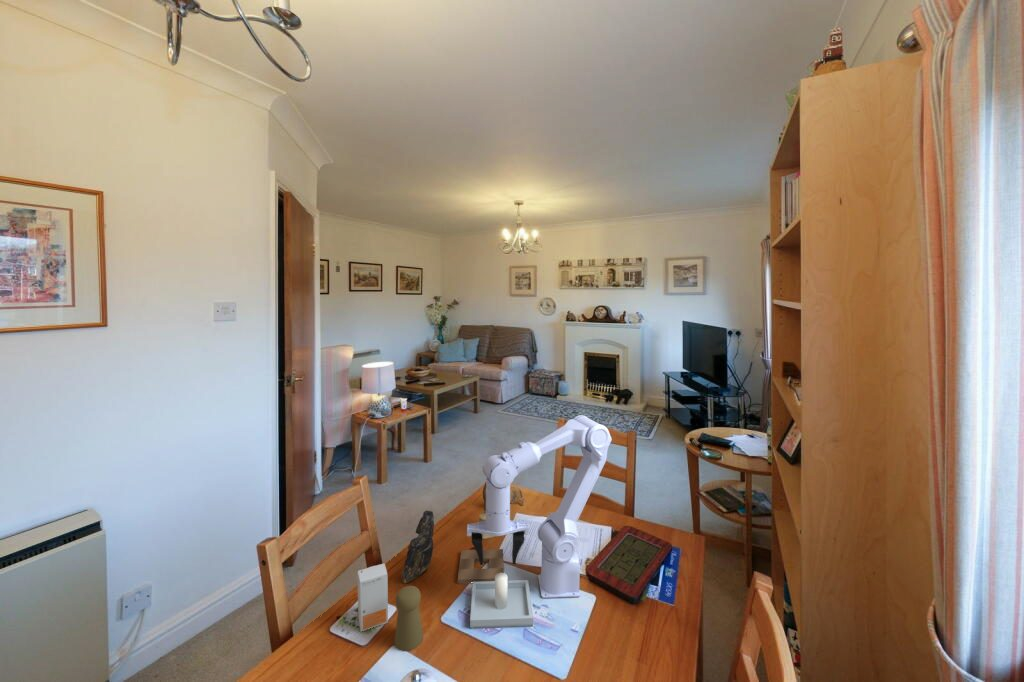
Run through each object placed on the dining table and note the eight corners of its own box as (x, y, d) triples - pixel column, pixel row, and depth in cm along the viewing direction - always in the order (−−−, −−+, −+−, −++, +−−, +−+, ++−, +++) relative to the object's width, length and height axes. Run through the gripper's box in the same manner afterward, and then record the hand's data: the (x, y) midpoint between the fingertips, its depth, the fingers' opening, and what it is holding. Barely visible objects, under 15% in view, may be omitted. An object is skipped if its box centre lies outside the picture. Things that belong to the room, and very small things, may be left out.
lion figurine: (495, 517, 131) (495, 491, 130) (486, 510, 135) (486, 485, 135) (528, 503, 140) (528, 479, 139) (518, 497, 145) (519, 474, 144)
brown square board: (502, 552, 112) (502, 549, 112) (504, 582, 100) (504, 578, 100) (461, 554, 112) (461, 550, 112) (457, 584, 100) (457, 579, 100)
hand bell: (484, 521, 129) (484, 475, 127) (504, 529, 124) (504, 481, 122) (467, 533, 122) (467, 484, 121) (488, 542, 117) (488, 492, 116)
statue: (394, 581, 101) (393, 526, 99) (425, 555, 111) (424, 505, 110) (411, 588, 98) (410, 532, 97) (440, 561, 109) (440, 510, 107)
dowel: (506, 599, 94) (506, 572, 93) (508, 608, 91) (508, 581, 90) (494, 600, 94) (494, 573, 93) (495, 609, 91) (495, 582, 90)
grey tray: (528, 587, 99) (528, 580, 99) (532, 626, 87) (533, 618, 87) (472, 589, 98) (472, 581, 98) (470, 628, 86) (470, 620, 86)
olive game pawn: (415, 653, 80) (414, 604, 79) (389, 648, 81) (387, 599, 80) (427, 629, 86) (427, 583, 85) (402, 625, 87) (401, 579, 86)
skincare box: (360, 633, 85) (358, 582, 84) (358, 619, 88) (356, 570, 87) (389, 623, 87) (387, 573, 86) (385, 610, 91) (384, 562, 90)
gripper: (526, 498, 96) (526, 550, 97) (467, 499, 95) (468, 552, 96) (530, 513, 89) (529, 569, 90) (466, 515, 88) (466, 571, 89)
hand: (497, 562), depth 93 cm, fingers open, 7 cm apart
